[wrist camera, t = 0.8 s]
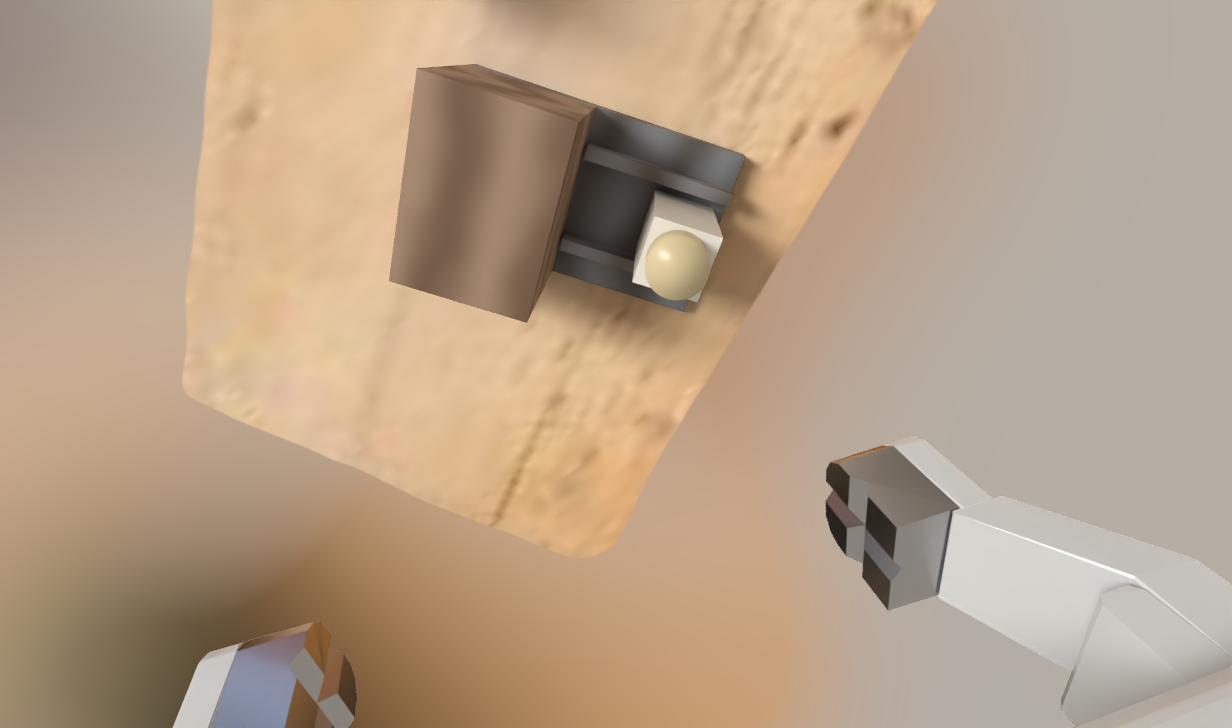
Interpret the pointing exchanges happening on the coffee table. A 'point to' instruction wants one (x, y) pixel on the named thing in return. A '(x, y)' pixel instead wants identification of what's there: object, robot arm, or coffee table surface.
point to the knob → (676, 247)
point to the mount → (535, 189)
